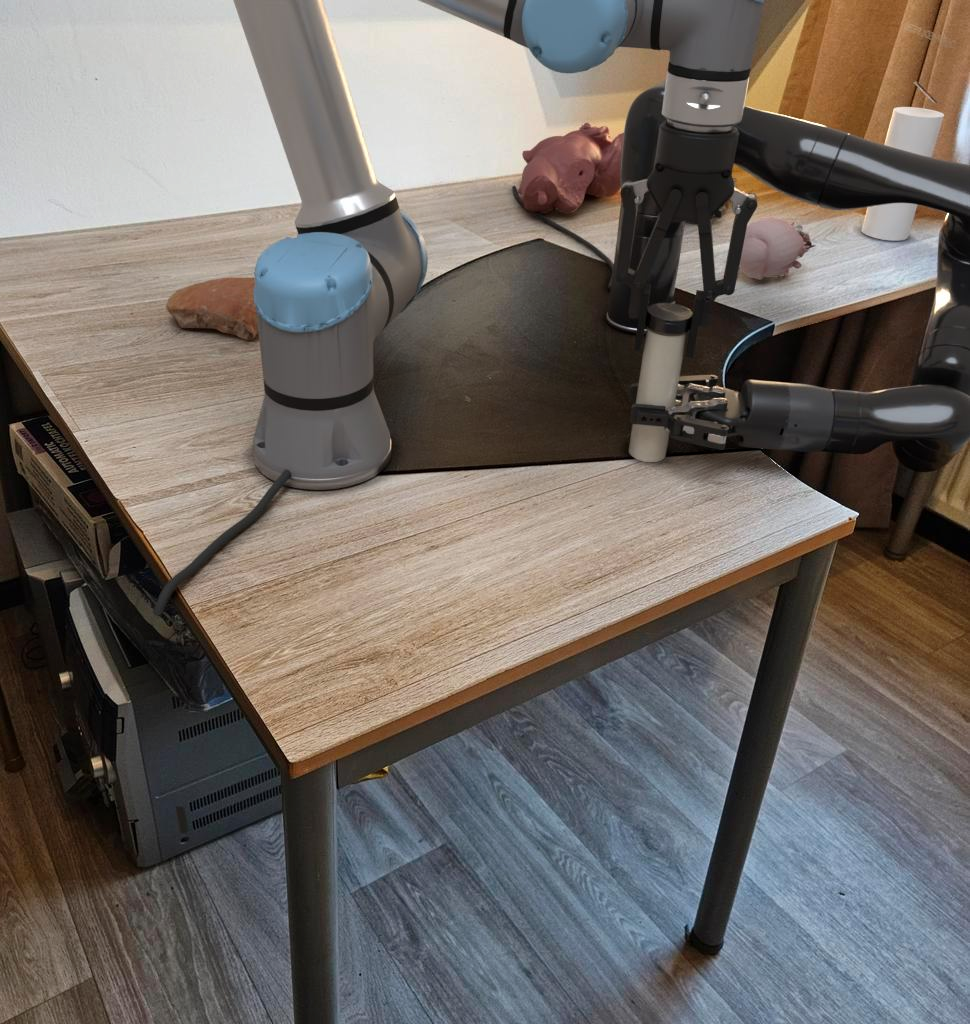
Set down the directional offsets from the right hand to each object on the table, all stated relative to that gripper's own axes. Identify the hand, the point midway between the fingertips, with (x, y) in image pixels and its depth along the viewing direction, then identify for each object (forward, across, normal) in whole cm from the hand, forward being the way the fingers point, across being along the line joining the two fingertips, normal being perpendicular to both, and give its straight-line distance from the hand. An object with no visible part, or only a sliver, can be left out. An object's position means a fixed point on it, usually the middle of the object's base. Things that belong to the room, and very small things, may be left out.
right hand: (630, 403), depth 108 cm
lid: (-3, 0, -11) cm, 11 cm away
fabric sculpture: (+8, -96, +6) cm, 97 cm away
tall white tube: (-51, -92, +6) cm, 106 cm away
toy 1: (-19, -103, +6) cm, 105 cm away
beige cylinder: (-3, 0, +6) cm, 7 cm away
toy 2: (-25, -64, +6) cm, 68 cm away
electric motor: (+40, -66, +6) cm, 78 cm away
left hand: (-3, 0, -7) cm, 7 cm away
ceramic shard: (+56, -28, +6) cm, 63 cm away
